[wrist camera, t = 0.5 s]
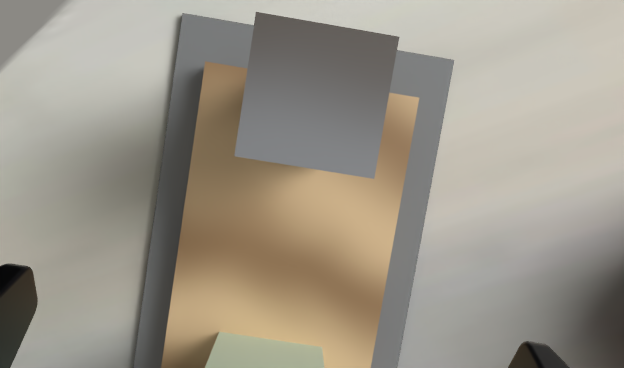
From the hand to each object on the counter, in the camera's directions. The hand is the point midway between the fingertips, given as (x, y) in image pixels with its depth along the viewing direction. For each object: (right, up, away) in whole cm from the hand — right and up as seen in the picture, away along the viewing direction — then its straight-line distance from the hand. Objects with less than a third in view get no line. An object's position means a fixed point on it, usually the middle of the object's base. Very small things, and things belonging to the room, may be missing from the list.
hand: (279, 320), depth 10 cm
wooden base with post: (-1, -1, +15) cm, 15 cm away
